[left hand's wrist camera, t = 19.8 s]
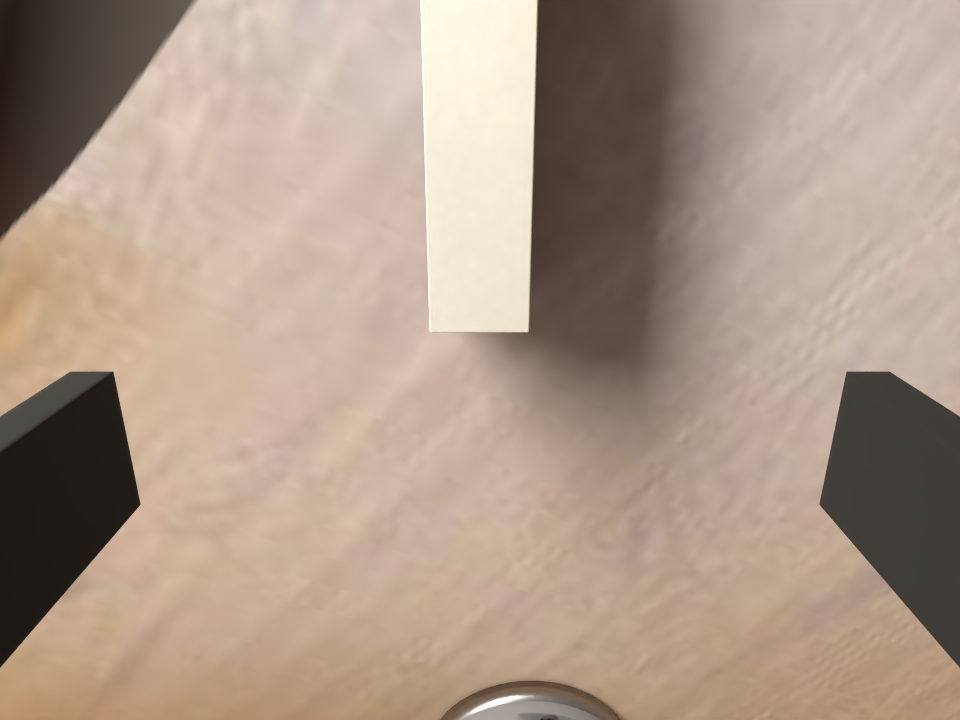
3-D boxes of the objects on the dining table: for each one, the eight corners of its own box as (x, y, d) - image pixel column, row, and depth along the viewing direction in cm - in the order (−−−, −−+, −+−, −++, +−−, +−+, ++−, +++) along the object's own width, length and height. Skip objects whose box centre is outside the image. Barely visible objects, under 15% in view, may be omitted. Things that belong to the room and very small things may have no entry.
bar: (519, 288, 38) (529, 332, 30) (439, 288, 38) (429, 333, 30) (531, -263, 29) (548, -393, 22) (428, -263, 29) (409, -393, 22)
